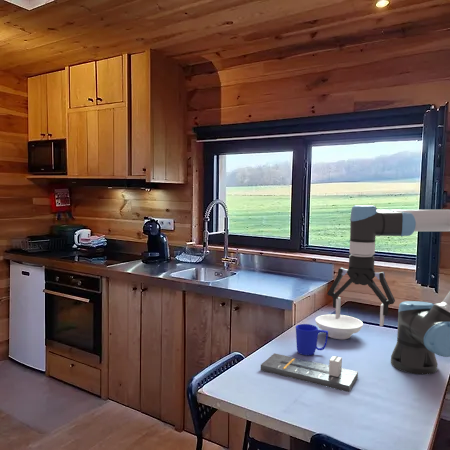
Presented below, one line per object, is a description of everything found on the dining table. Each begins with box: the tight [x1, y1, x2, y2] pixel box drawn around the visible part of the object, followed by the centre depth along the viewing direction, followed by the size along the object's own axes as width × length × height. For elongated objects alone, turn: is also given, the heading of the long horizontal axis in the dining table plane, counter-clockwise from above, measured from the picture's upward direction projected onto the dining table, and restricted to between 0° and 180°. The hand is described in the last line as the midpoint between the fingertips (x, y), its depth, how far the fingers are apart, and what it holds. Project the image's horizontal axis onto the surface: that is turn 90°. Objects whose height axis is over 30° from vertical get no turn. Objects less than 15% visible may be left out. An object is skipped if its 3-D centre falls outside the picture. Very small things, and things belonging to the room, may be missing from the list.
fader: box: [328, 355, 343, 377], centre depth 139 cm, size 3×4×5 cm
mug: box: [295, 323, 329, 356], centre depth 162 cm, size 8×12×10 cm
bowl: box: [315, 313, 364, 340], centre depth 181 cm, size 20×20×7 cm
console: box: [260, 353, 359, 393], centre depth 144 cm, size 30×12×2 cm, turn 60°
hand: (359, 321), depth 135 cm, fingers open, 13 cm apart
